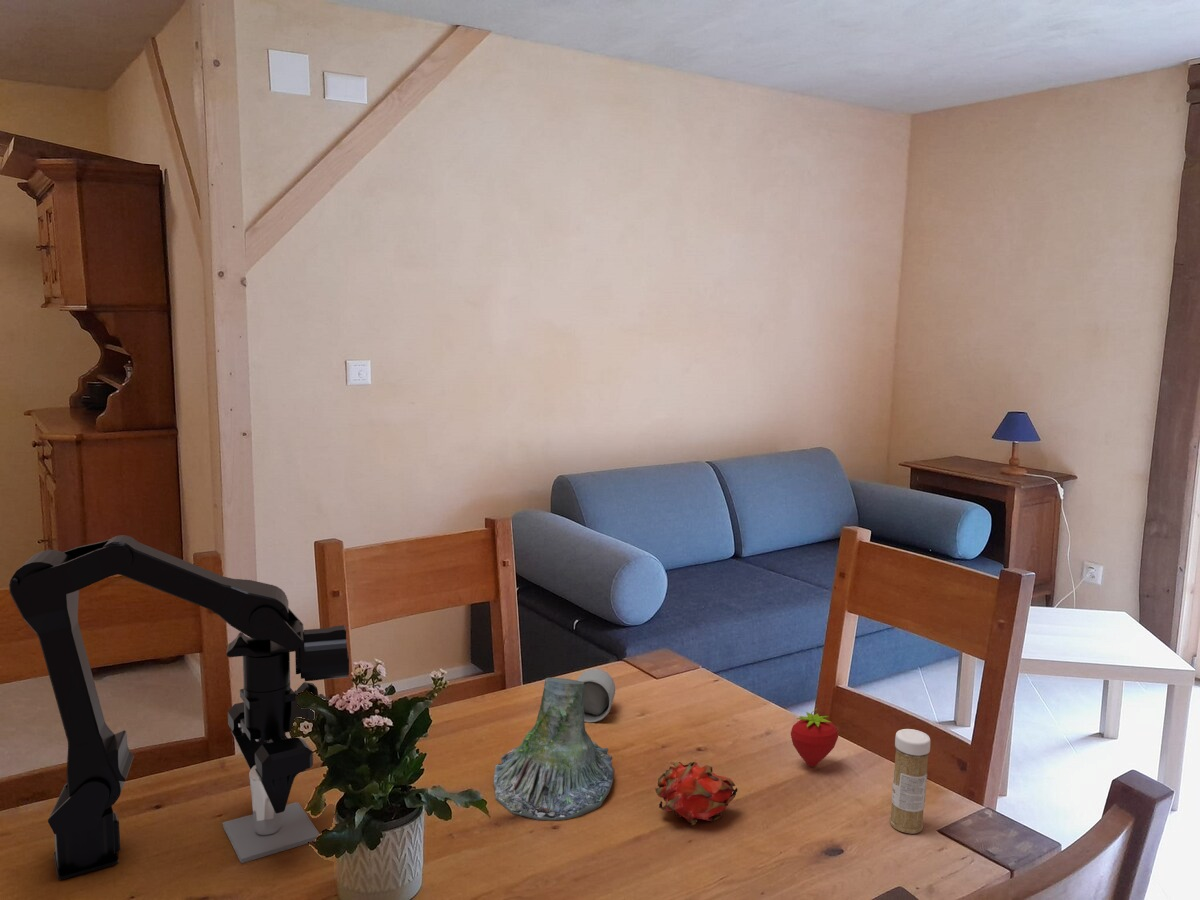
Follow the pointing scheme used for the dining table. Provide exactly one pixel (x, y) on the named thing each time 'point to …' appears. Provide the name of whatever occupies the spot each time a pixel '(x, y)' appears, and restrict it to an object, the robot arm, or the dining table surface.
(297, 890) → the dining table surface
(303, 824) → the coaster
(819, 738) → the strawberry
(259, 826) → the milkshake
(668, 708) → the dining table surface
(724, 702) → the dining table surface
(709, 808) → the dragon fruit
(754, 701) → the dining table surface
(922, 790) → the spice jar
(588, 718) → the ceramic mug
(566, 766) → the tree stump
